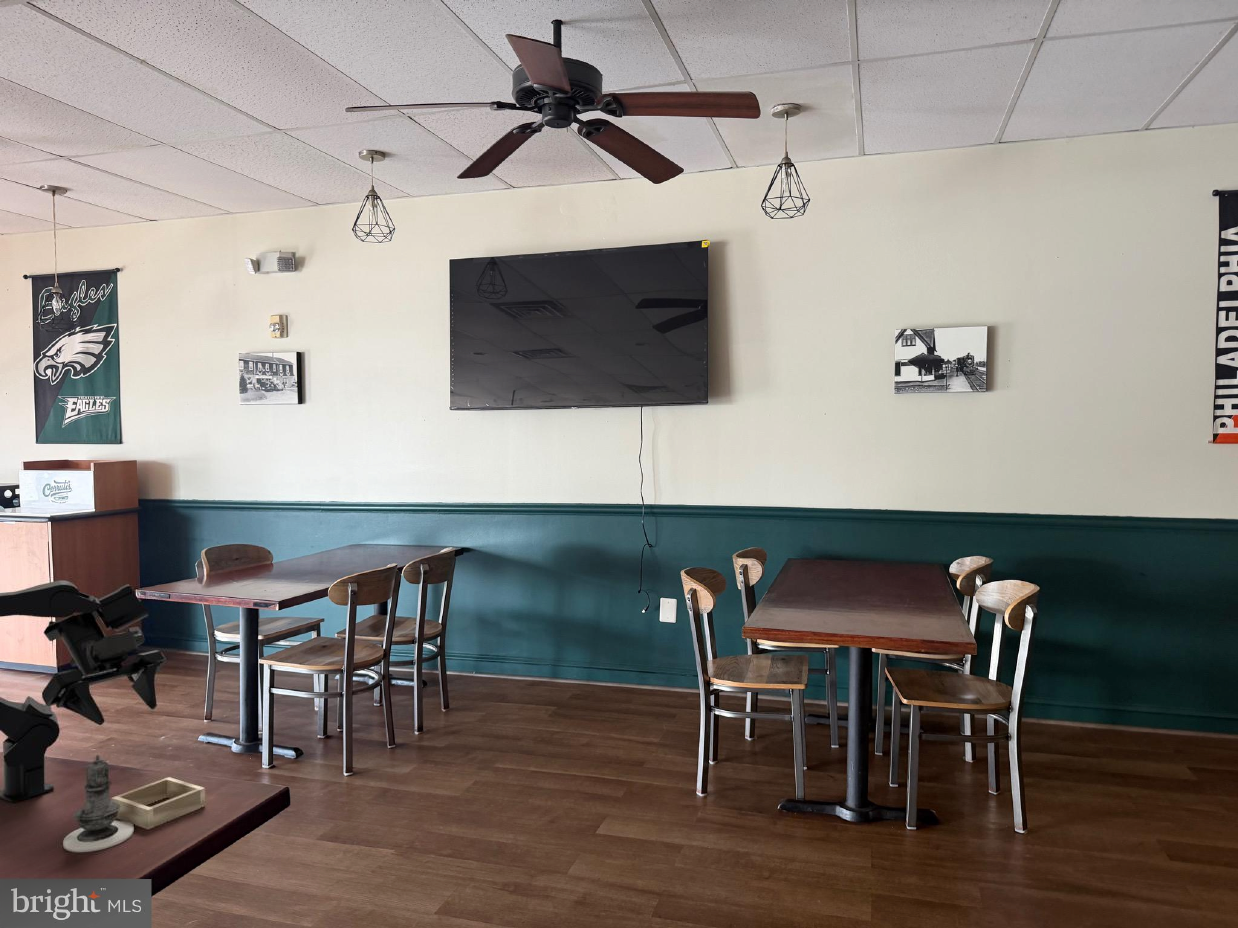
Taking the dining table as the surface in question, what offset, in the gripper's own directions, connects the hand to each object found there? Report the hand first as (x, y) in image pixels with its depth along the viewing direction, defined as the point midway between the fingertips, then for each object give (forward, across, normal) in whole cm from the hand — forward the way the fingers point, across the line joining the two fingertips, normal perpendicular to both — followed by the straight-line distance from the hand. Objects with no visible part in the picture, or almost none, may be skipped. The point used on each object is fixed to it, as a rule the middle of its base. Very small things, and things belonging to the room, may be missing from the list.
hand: (129, 715), depth 139 cm
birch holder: (+17, -2, +2) cm, 17 cm away
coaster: (+17, -12, +2) cm, 21 cm away
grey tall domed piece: (+17, -12, +2) cm, 21 cm away
